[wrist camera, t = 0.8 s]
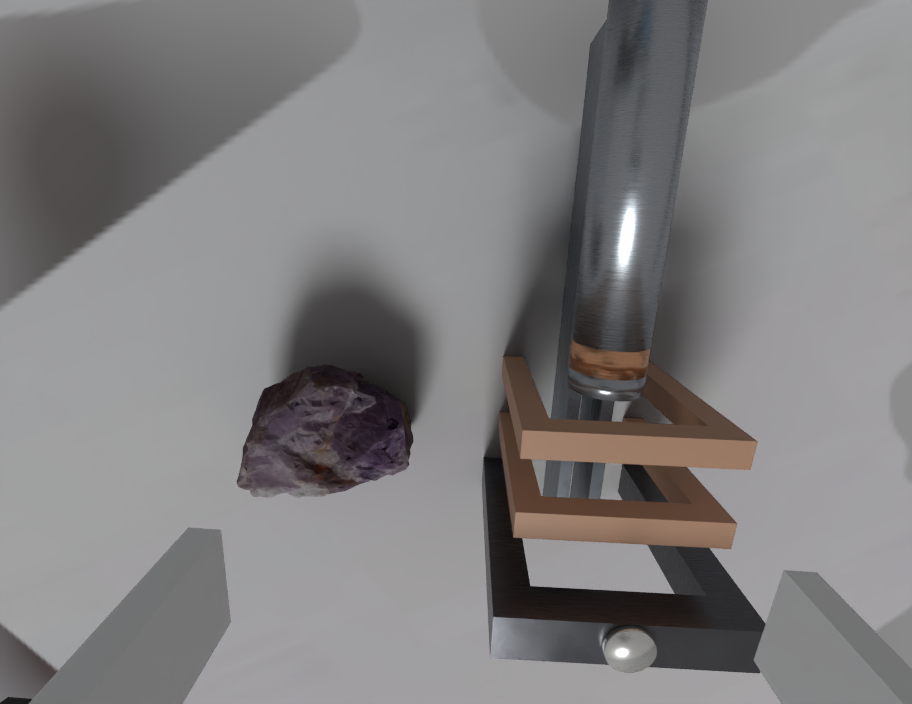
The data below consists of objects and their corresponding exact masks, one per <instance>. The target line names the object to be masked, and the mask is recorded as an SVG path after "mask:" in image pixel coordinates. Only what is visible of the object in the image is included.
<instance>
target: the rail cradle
mask: <svg viewBox="0 0 912 704" xmlns="http://www.w3.org/2000/svg"><path fill="white" fill-rule="evenodd" d="M606 23H607V20H606V21H605V23H604V25H603V26H602V28H601V29H600V31H599V32H598V34H597V35H596V37H595V38H594V40H593V41H592V43H591V44H590V53H589V62H588V71H587V81H586V91H585V100H584V109H583V119H582V128H581V138H580V147H579V157H578V166H577V176H576V185H575V195H574V204H573V214H572V224H571V233H570V243H569V252H568V262H567V271H566V281H565V290H564V300H563V309H562V319H561V328H560V338H559V347H558V357H557V366H556V376H555V386H554V395H553V405H552V414H551V419H568V420H578V416H579V408H580V400H581V394H579V393H577V392H575V391H573V390H571V389H570V388H569V387H568V386H567V384H566V379H567V370H568V361H569V353H570V344H571V335H572V326H573V317H574V308H575V299H576V290H577V281H578V272H579V264H580V255H581V246H582V237H583V228H584V219H585V210H586V201H587V192H588V183H589V175H590V166H591V157H592V148H593V139H594V130H595V121H596V112H597V103H598V94H599V86H600V77H601V68H602V59H603V50H604V41H605V32H606ZM613 407H614V401H608V400H601V399H596V398H591V397H588V396H584V395H583V397H582V405H581V413H580V420H589V421H610V422H611V421H612V414H613ZM572 465H573V461H557V460H547V462H546V471H545V481H544V490H543V496H545V497H565V498H568V497H569V489H570V481H571V473H572ZM604 469H605V463H598V462H578V461H574V469H573V477H572V486H571V494H570V498H585V499H600V496H601V489H602V483H603V476H604Z"/></svg>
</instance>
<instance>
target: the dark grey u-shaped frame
mask: <svg viewBox="0 0 912 704" xmlns="http://www.w3.org/2000/svg"><path fill="white" fill-rule="evenodd" d="M618 493H619V494H620V496H621V498H622V500H625V501H644V502H664V503H669V502H668V501H667V499H666V498H665V496H664V495H663V494H662V492H661V491H660V490H659V488H658V487H657V485H656V484H655V483H654V481H653V480H652V478H651V477H650V476H649V474H648V473H647V471H646V470H645V469H644V467H643V466H642V465H622V471H621V478H620V484H619V490H618ZM482 497H483V518H484V539H485V560H486V581H487V602H488V623H489V644H490V658H500V659H517V660H535V661H552V662H570V663H587V664H605V665H610V666H611V667H612V668H613V669H615V670H617V671H620V672H625V673H634V672H638V671H641V670H644V669H646V668H647V667H658V668H675V669H693V670H710V671H728V672H746V673H760V670H759V668H758V667H757V665H756V663H755V662H754V657H755V654H756V651H757V648H758V645H759V642H760V639H761V636H762V633H763V631H764V628H765V625H766V624H765V623H764V621H763V620H762V619H761V617H760V616H759V615H758V613H757V612H756V610H755V609H754V608H753V606H752V605H751V604H750V602H749V601H748V600H747V598H746V597H745V596H744V594H743V593H742V592H741V590H740V589H739V588H738V586H737V585H736V584H735V582H734V581H733V580H732V578H731V577H730V575H729V574H728V573H727V571H726V570H725V569H724V567H723V566H722V565H721V563H720V562H719V561H718V559H717V558H716V557H715V555H714V554H713V553H712V551H711V550H710V549H709V548H703V547H684V546H665V545H648V546H649V548H650V550H651V552H652V554H653V555H654V557H655V559H656V561H657V563H658V564H659V566H660V568H661V570H662V572H663V573H664V575H665V577H666V579H667V581H668V582H669V584H670V586H671V588H672V589H673V591H674V593H675V594H663V593H645V592H626V591H607V590H589V589H570V588H552V587H533V586H530V582H529V576H528V570H527V564H526V558H525V553H524V547H523V541H522V538H513V531H512V524H511V517H510V510H509V503H508V496H507V489H506V482H505V474H504V467H503V460H502V459H500V458H484V460H483V476H482Z"/></svg>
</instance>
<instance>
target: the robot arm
mask: <svg viewBox="0 0 912 704" xmlns="http://www.w3.org/2000/svg"><path fill="white" fill-rule="evenodd" d="M230 622H231V619H230V610H229V600H228V591H227V582H226V572H225V563H224V554H223V544H222V535H221V530H215V529H201V528H188V529H187V530H186V531H185V532H184V533H183V534H182V535H181V536H180V538H179V539H178V540H177V541H176V542H175V543H174V544H173V545H172V546H171V547H170V549H169V550H168V551H167V552H166V553H165V554H164V555H163V556H162V557H161V558H160V560H159V561H158V562H157V563H156V564H155V565H154V566H153V567H152V568H151V569H150V571H149V572H148V573H147V574H146V575H145V576H144V577H143V578H142V579H141V580H140V582H139V583H138V584H137V585H136V586H135V587H134V588H133V589H132V590H131V591H130V593H129V594H128V595H127V596H126V597H125V598H124V599H123V600H122V601H121V602H120V604H119V605H118V606H117V607H116V608H115V609H114V610H113V611H112V612H111V613H110V615H109V616H108V617H107V618H106V619H105V620H104V621H103V622H102V623H101V624H100V626H99V627H98V628H97V629H96V630H95V631H94V632H93V633H92V634H91V635H90V637H89V638H88V639H87V640H86V641H85V642H84V643H83V644H82V645H81V646H80V648H79V649H78V650H77V651H76V652H75V653H74V654H73V655H72V656H71V657H70V659H69V660H68V661H67V662H66V663H65V664H64V665H63V666H62V667H61V668H60V670H59V671H58V672H57V673H56V674H55V675H54V676H53V677H52V678H51V680H50V681H49V682H48V683H47V684H46V685H45V686H44V687H43V688H42V689H41V690H40V692H39V693H38V694H37V695H36V696H35V697H34V698H33V699H26V698H13V697H8V698H6V699H5V700H4V701H2V702H1V703H0V704H183V702H184V700H185V699H186V697H187V695H188V693H189V692H190V690H191V688H192V687H193V685H194V683H195V682H196V680H197V678H198V677H199V675H200V673H201V671H202V670H203V668H204V666H205V665H206V663H207V661H208V660H209V658H210V656H211V655H212V653H213V651H214V649H215V648H216V646H217V644H218V643H219V641H220V639H221V638H222V636H223V634H224V633H225V631H226V629H227V627H228V626H229V624H230ZM754 662H755V663H756V665H757V667H758V668H759V670H760V671H761V673H762V674H763V676H764V677H765V679H766V680H767V682H768V684H769V685H770V687H771V688H772V690H773V691H774V693H775V694H776V696H777V698H778V699H779V701H780V702H781V704H912V669H911V668H910V667H909V666H908V665H907V664H906V663H905V662H904V661H903V660H902V658H901V657H900V656H899V655H897V653H896V652H895V651H894V650H893V649H892V648H891V647H889V645H888V644H887V643H886V642H885V641H884V640H883V639H882V638H881V637H880V636H879V635H878V634H877V633H876V632H875V631H874V630H873V629H872V628H871V627H870V626H869V625H868V624H867V623H866V622H865V621H864V620H863V619H862V618H861V617H860V616H859V615H858V614H857V613H856V612H855V611H854V610H853V609H852V608H851V607H850V606H849V605H848V604H847V603H846V602H845V601H844V600H843V599H842V597H841V596H840V595H839V594H838V593H837V592H836V591H835V590H834V589H833V588H832V587H831V586H830V585H829V584H828V583H827V582H826V581H825V580H824V579H823V578H822V577H821V576H820V575H819V574H818V573H816V572H802V571H788V570H784V571H783V574H782V577H781V580H780V583H779V586H778V589H777V592H776V595H775V598H774V601H773V604H772V607H771V610H770V613H769V616H768V619H767V622H766V625H765V628H764V631H763V633H762V636H761V639H760V642H759V645H758V648H757V651H756V654H755V657H754Z"/></svg>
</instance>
